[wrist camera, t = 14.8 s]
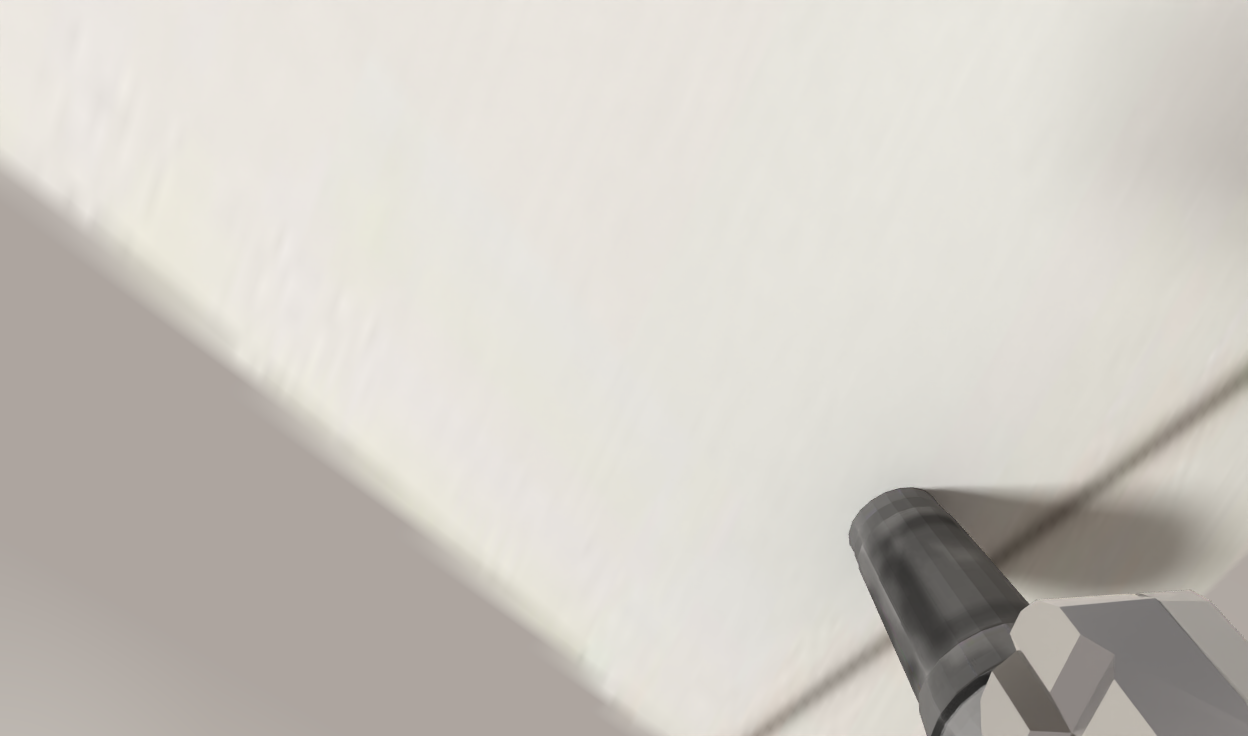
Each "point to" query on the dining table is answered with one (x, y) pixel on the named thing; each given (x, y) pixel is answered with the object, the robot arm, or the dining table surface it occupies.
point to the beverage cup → (936, 604)
